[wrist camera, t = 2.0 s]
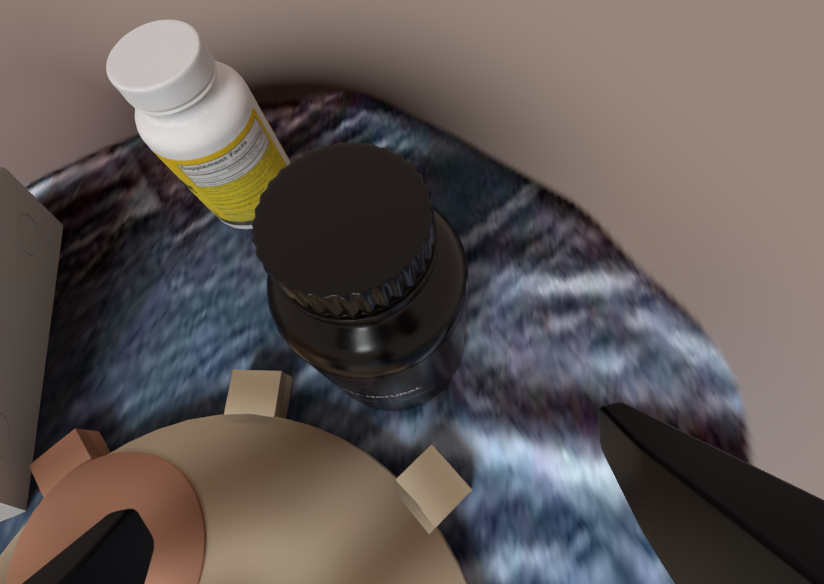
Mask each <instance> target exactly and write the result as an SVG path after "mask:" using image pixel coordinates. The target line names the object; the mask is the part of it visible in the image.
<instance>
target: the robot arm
mask: <svg viewBox="0 0 824 584" xmlns="http://www.w3.org/2000/svg"><path fill="white" fill-rule="evenodd" d="M598 420H599V436H600V444H601V448H602V451H603V453H604V455H605V457H606V459H607V461H608V463H609V465H610V467H611V469H612V471H613V473H614V475H615V478H616V480H617V482H618V484H619V486H620V488H621V490H622V492H623V494H624V496H625V498H626V500H627V502H628V504H629V506H630V508H631V510H632V512H633V514H634V516H635V518H636V520H637V522H638V524H639V526H640V528H641V530H642V531H643V533H644V535H645V536H646V538H647V540H648V541H649V543H650V545H651V546H652V548H653V550H654V551H655V553H656V554H657V556H658V558H659V559H660V561H661V562H662V564H663V565H664V567H665V569H666V570H667V572H668V573H669V575H670V577H671V578H672V580H673V581H674V583H675V584H824V500H823V499H820V498H818V497H816V496H814V495H812V494H810V493H808V492H806V491H804V490H802V489H800V488H798V487H796V486H794V485H792V484H790V483H787V482H785V481H783V480H781V479H779V478H777V477H775V476H773V475H771V474H769V473H767V472H765V471H763V470H761V469H759V468H757V467H754V466H752V465H750V464H748V463H746V462H744V461H742V460H740V459H738V458H736V457H734V456H732V455H730V454H728V453H726V452H724V451H721V450H719V449H717V448H715V447H713V446H711V445H709V444H707V443H705V442H703V441H701V440H699V439H697V438H695V437H693V436H690V435H688V434H686V433H684V432H682V431H680V430H678V429H676V428H674V427H672V426H670V425H668V424H666V423H664V422H662V421H660V420H657V419H655V418H653V417H651V416H649V415H647V414H645V413H643V412H641V411H639V410H637V409H635V408H633V407H631V406H629V405H627V404H624V403H621V402H617V403H612V404H607V405H603V406H601V407H600V408H599V410H598ZM153 552H154V539H153V536H152V534H151V533H150V531H149V529H148V528H147V526H146V524H145V523H144V521H143V519H142V518H141V516H140V514H139V513H138V512H137V511H136V510H135V509H131V508H129V509H124V510H119V511H115V512H112V513H109V514H108V515H106V516H105V517H104V518H103V519H101V520H100V521H99V522H98V523H96V524H95V525H94V526H93V527H91V528H90V529H89V530H88V531H86V532H85V533H84V534H83V535H81V536H80V537H79V538H78V539H77V540H75V541H74V542H73V543H72V544H70V545H69V546H68V547H67V548H65V549H64V550H63V551H62V552H60V553H59V554H58V555H57V556H55V557H54V558H53V559H52V560H50V561H49V562H48V563H47V564H46V565H44V566H43V567H42V568H41V569H39V570H38V571H37V572H36V573H34V574H33V575H32V576H31V577H29V578H28V579H27V580H26V581H24V582H23V583H22V584H145V581H146V577H147V574H148V570H149V566H150V563H151V559H152V555H153Z"/></svg>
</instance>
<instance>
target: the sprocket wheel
mask: <svg viewBox="0 0 824 584" xmlns="http://www.w3.org/2000/svg"><path fill="white" fill-rule="evenodd" d="M292 379H293V377H291V376H289V375H287V374H286V373H284V372H282V371H265V370H233V372H232V377H231V382H230V387H229V391H228V396H227V401H226V406H225V411H224V415H214V416H208V417H202V418H196V419H191V420H186V421H183V422H180V423H177V424H173V425H170V426H167V427H164V428H160V429H157V430H155V431H153V432H151V433H148V434H146V435H144V436H142V437H139V438H137V439H135V440H133V441H130V442H128V443H126V444H125V445H123V446H121V447H120V448H118V449H116V450H115V451H113V452H110V450H109V448H108V447H107V445H106V443H105V441H104V439H103V438H102V436H101V434H100V432H99V431H92V430H84V429H77V428H75V429H74V430H72V431H71V432H70V433H69V434H67V435H66V436H65V437H64V438H62V439H61V440H60V441H59V442H57V443H56V444H55V445H54V446H52V447H51V448H50V449H49V450H47V451H46V452H45V453H44V454H42V455H41V456H40V457H39V458H37V459H36V460H35V461H34V462H32V463H31V464H30V465H29V467H30V469H31V471H32V473H33V476H34V478H35V480H36V482H37V484H38V486H39V489H40V491H41V493H42V495H43V497H44V498H43V500H42V501H41V502H40V504H39V505H38V506H37V508H36V509H35V510H34V512H33V513H32V515H31V517H30V518H29V520H28V521H27V523H26V525H25V526H24V527H23V528H22V529H21V530H20V531H19V532H18V534H17V535H16V536H15V537H14V538H13V539H12V541H11V542H10V543H9V545H8V546H7V547H6V549H5V550H4V551H3V553H2V554H1V555H0V584H22V583H23V582H24V581H26V580H27V579H28V578H29V577H31V576H32V575H33V574H34V573H36V572H37V571H38V570H39V569H41V568H42V567H43V566H44V565H46V564H47V563H48V562H49V561H50V560H52V559H53V558H54V557H55V556H57V555H58V554H59V553H60V552H62V551H63V550H64V549H65V548H67V547H68V546H69V545H70V544H72V543H73V542H74V541H75V540H77V539H78V538H79V537H80V536H81V535H83V534H84V533H85V532H86V531H88V530H89V529H90V528H91V527H93V526H94V525H95V524H96V523H98V522H99V521H100V520H101V519H103V518H104V517H105V516H106V515H108V514H109V513H112V512H115V511H119V510H124V509H129V508H131V509H135V510H136V511H137V512H138V513H139V514H140V516H141V518H142V519H143V521H144V523H145V524H146V526H147V528H148V529H149V531H150V533H151V534H152V536H153V539H154V552H153V555H152V559H151V563H150V566H149V570H148V574H147V577H146V581H145V584H467V582H466V579H465V577H464V574H463V572H462V569H461V567H460V565H459V562H458V561H457V559H456V557H455V555H454V553H453V552H452V550H451V548H450V546H449V544H448V542H447V541H446V539H445V537H444V535H443V533H442V532H441V530H440V528H439V527H438V525H439V524H440V523H441V522H442V521H443V520H444V519H445V518H446V516H447V515H448V514H449V513H450V512H451V511H452V510H453V509H454V508H455V507H456V506H457V505H458V504H459V503H460V502H461V501H462V500H463V499H464V498H465V497H466V496H467V495H468V494H469V493H470V492H471V491H472V489H471V488H470V487H469V486H468V485H467V483H466V482H465V481H464V480H463V479H462V478H461V477H460V476H459V474H458V473H457V472H456V471H455V470H454V469H453V468H452V466H451V465H450V464H449V463H448V462H447V461H446V460H445V458H444V457H443V456H442V455H441V454H440V453H439V452H438V451H437V449H436V448H435V447H434V446H433V445H432V444H431V445H430V446H429V447H428V448H427V449H426V450H425V451H424V452H423V453H422V454H421V455H420V456H419V457H418V458H417V459H416V460H415V461H414V462H413V463H412V464H411V465H410V466H409V467H408V468H407V469H406V470H405V471H404V472H403V473H402V474H401V475H400V476H399V477H397V476H396V475H395V474H394V473H392V472H391V471H390V470H389V469H387V468H386V467H385V466H384V465H383V464H381V463H380V462H379V461H378V460H376V459H375V458H374V457H373V456H372V455H370V454H368V453H367V452H365V451H363V450H362V449H360V448H358V447H357V446H355V445H353V444H352V443H350V442H348V441H347V440H345V439H343V438H340V437H338V436H336V435H333V434H331V433H329V432H326V431H324V430H321V429H319V428H316V427H314V426H311V425H308V424H304V423H300V422H296V421H292V420H288V419H286V418H287V412H288V405H289V398H290V392H291V385H292Z"/></svg>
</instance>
